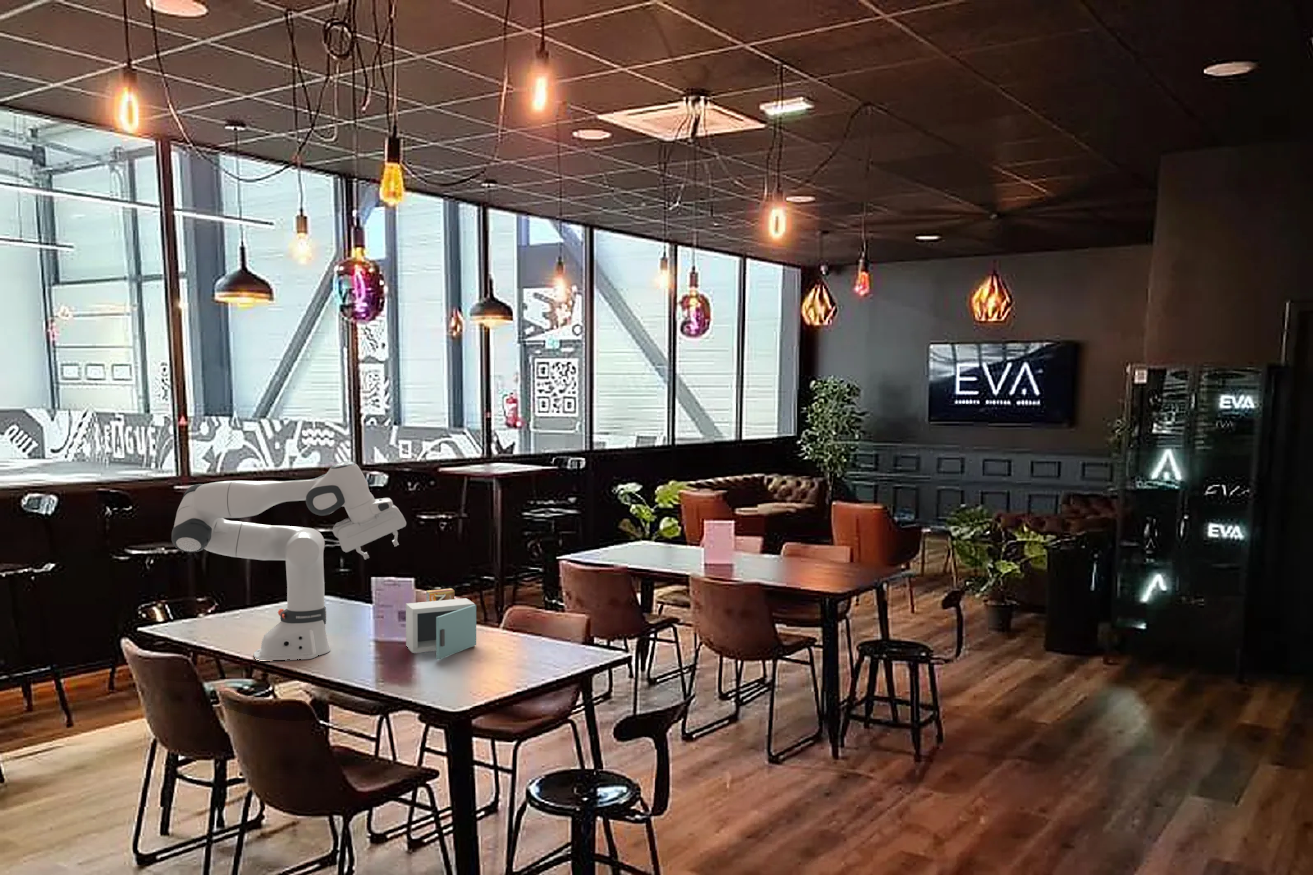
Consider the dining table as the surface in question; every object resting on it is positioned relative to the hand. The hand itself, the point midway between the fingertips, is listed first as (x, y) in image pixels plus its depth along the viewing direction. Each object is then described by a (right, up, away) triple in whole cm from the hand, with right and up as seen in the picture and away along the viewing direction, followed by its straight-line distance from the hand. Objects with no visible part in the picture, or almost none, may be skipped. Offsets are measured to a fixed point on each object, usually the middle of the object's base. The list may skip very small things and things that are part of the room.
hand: (381, 551), depth 285 cm
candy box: (+10, -33, +36) cm, 49 cm away
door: (+21, -33, +9) cm, 40 cm away
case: (+13, -33, +19) cm, 41 cm away
